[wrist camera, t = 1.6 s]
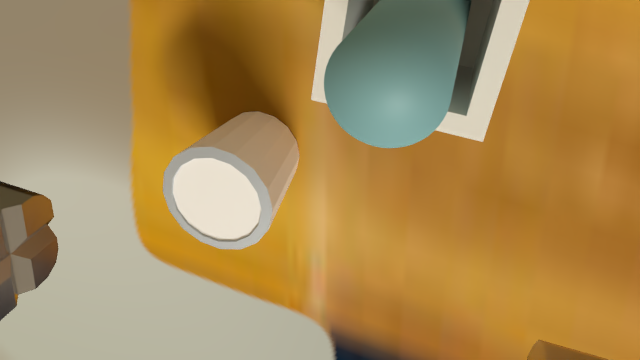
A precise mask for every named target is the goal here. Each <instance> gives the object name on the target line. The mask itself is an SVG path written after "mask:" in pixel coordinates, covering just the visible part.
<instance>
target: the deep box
mask: <svg viewBox="0 0 640 360" xmlns="http://www.w3.org/2000/svg"><path fill="white" fill-rule="evenodd" d="M379 1H380V0H325V4H324V11H323V18H322V25H321V32H320V40H319V47H318V54H317V61H316V68H315V75H314V82H313V89H312V97H311V100H314V101H318V102H323V103H327V101H326V98H325V92H324V75H325V70H326V66H327V64H328V61H329V59H330V57H331V55H332V53H333V51H334V50H335V49H336V47H337V46H338V45H339V44H340V43H341V42H342V41H343V39H344V38H345V37H346V36H347V35H348V34H349V33H350V32H351V31H352V30H353V29H354V28H355V27H356V25H357V24H358V23H359V22H360V21H361V20H362V19H363V18H364V17H365V16H366V15H367V14H368V13H369V11H370V10H371V9H372V8H373V7H374V6H375V5H376V4H377V3H378V2H379ZM528 3H529V0H471V6H470V11H469V16H468V21H467V26H466V30H465V35H464V40H463V45H462V50H461V54H460V59H459V64H458V69H457V74H456V78H455V83H454V88H453V93H452V98H451V102H450V106H449V109H448V112H447V114H446V116H445V117H444V119H443V121H442V122H441V124H440V125H439V126H438V127H437V128H436V129H435V130H437V131H441V132H445V133H449V134H453V135H457V136H461V137H465V138H469V139H473V140H477V141H481V142H483V140H484V137H485V134H486V131H487V127H488V124H489V121H490V118H491V115H492V112H493V109H494V106H495V103H496V100H497V97H498V94H499V91H500V88H501V85H502V82H503V79H504V76H505V73H506V70H507V67H508V64H509V61H510V58H511V55H512V52H513V49H514V46H515V43H516V40H517V37H518V34H519V30H520V27H521V24H522V21H523V18H524V15H525V12H526V9H527V6H528Z"/></svg>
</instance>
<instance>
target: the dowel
mask: <svg viewBox="0 0 640 360" xmlns="http://www.w3.org/2000/svg"><path fill="white" fill-rule="evenodd" d="M470 6H471V0H380V1H379V2H378V3H377V4H376V5H375V6H374V7H373V8H372V9H371V10H370V11H369V13H368V14H367V15H366V16H365V17H364V18H363V19H362V20H361V21H360V22H359V23H358V24H357V25H356V27H355V28H354V29H353V30H352V31H351V32H350V33H349V34H348V35H347V36H346V37H345V38H344V39H343V41H342V42H341V43H340V44H339V45H338V46H337V47H336V49H335V50H334V51H333V53H332V55H331V57H330V59H329V61H328V64H327V66H326V70H325V75H324V92H325V98H326V101H327V104H328V107H329V109H330V111H331V113H332V115H333V117H334V118H335V120H336V121H337V122H338V124H339V125H340V126H341V127H342V128H343V129H344V130H345V131H346V132H347V133H349V134H350V135H351V136H353V137H354V138H356V139H358V140H359V141H362V142H364V143H366V144H369V145H372V146H376V147H382V148H399V147H405V146H408V145H412V144H414V143H417V142H419V141H421V140H422V139H424V138H426V137H427V136H429V135H430V134H431V133H432V132H433V131H434V130H435V129H436V128H437V127H438V126H439V125H440V124H441V122H442V121H443V119H444V117H445V116H446V114H447V112H448V109H449V106H450V102H451V98H452V93H453V88H454V83H455V78H456V74H457V69H458V64H459V59H460V54H461V50H462V45H463V40H464V35H465V30H466V26H467V21H468V16H469V11H470Z"/></svg>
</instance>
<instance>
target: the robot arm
mask: <svg viewBox="0 0 640 360" xmlns="http://www.w3.org/2000/svg"><path fill="white" fill-rule="evenodd" d="M53 217H54V215H53V209H52V203H51V200H50V199H48V198H47V197H45V196H44V195H41V194H38V193H35V192H32V191H29V190H26V189H23V188H20V187H16V186H13V185H10V184H7V183H4V182H1V181H0V320H1V319H3V318H4V317H5V316H6V315H7V314H8V313H9V312H10V311H11V310H13V309H14V308H15V307H16V306H17V299H18V295H19V294H22V293H25V292H27V291H30V290H33V289H36V288H37V287H38V286H39V285H40V284H41V283H42V282H43V281H44V280H45V279H46V278H47V277H48V276H49V274H50V272H51V270H52V268H53V267H54V265H55V263H56V259H57V253H58V243H57V237H56V236H55V234H54V233H53V232H52V230H51V229H50V227H49V226H48V224H49V222H50V221H51V220H52V219H53ZM527 360H608V359H605V358H602V357H598V356H595V355H591V354H588V353H584V352H581V351H577V350H574V349H570V348H567V347H563V346H560V345H556V344H552V343H549V342H545V341H542V340H538V341H537V342H536V343H535V344H534V345H533V347H532V349H531V351H530V353H529V355H528V357H527Z"/></svg>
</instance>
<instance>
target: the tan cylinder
mask: <svg viewBox="0 0 640 360" xmlns="http://www.w3.org/2000/svg"><path fill="white" fill-rule="evenodd" d="M299 156H300V155H299V151H298V146H297V141H296V139H295V138H294V136H293V135H292V133H291V131H290V130H289V128H288V127H287V126H286V125H285V124H283V123H282V122H281V121H279V120H278V119H277V118H276V117H274V116H271V115H268V114H265V113H262V112H259V111H256V112H243V113H241V114H240V115H238V116H236V117H234V118H232V119H231V120H229V121H228V122H226V123H225V124H223V125H222V126H220V127H218V128H217V129H215V130H214V131H212V132H211V133H209V134H208V135H206V136H205V137H203V138H202V139H200V140H199V141H197V142H196V143H194V144H193V145H191V146H190V147H188V148H186V149H185V150H183V151H182V152H180V153H179V154H177V155H176V156H174V157H173V159H172V160H171V162H170V164H169V165H168V167H167V169H166V170H165V172H164V182H163V193H164V196H165V199H166V202H167V205H168V208H169V211H170V212H171V213H172V215H173V216H174V217H175V219H176V220H177V221H178V223H179V224H180V225H181V227H182V228H183V229H184V230H186V231H187V232H188V233H190V234H191V235H192V236H194V237H195V238H196V239H198V240H199V241H200V242H203V243H206V244H209V245H211V246H214V247H217V248H220V249H242V248H245V247H247V246H250V245H252V244H255V243H257V242H258V241H259V240H260V239H261V238H262V237H263V235H264V234H265V233H266V232H267V231H268V229H269V228H270V226H271V223H272V221H273V219H274V217H275V215H276V213H277V210H278V208H279V206H280V204H281V202H282V200H283V198H284V195H285V193H286V191H287V189H288V187H289V185H290V182H291V180H292V178H293V176H294V174H295V172H296V170H297V165H298V161H299Z"/></svg>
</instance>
